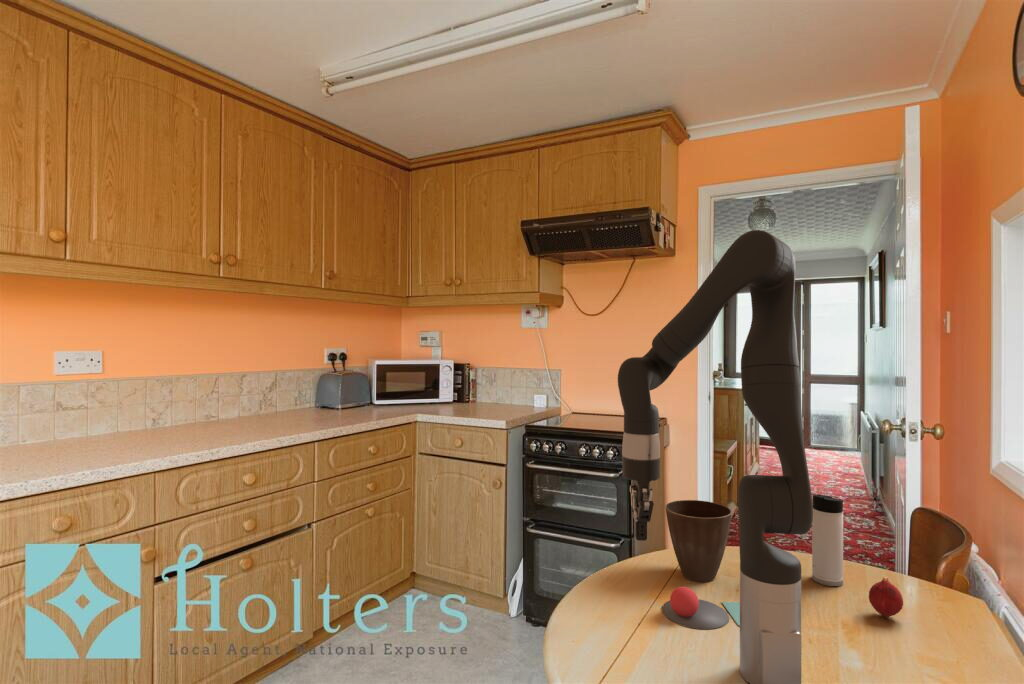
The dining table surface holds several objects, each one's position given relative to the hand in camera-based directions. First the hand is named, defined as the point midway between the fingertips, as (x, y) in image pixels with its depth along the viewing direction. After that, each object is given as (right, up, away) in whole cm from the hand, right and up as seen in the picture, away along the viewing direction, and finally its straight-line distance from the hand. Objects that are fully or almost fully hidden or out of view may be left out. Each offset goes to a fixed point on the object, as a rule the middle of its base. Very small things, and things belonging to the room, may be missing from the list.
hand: (640, 539), depth 116 cm
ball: (+9, -12, -1) cm, 15 cm away
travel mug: (+47, -15, +15) cm, 51 cm away
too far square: (+23, -15, -1) cm, 27 cm away
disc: (+11, -15, 0) cm, 19 cm away
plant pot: (+18, -15, +18) cm, 30 cm away
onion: (+49, -15, -2) cm, 51 cm away
